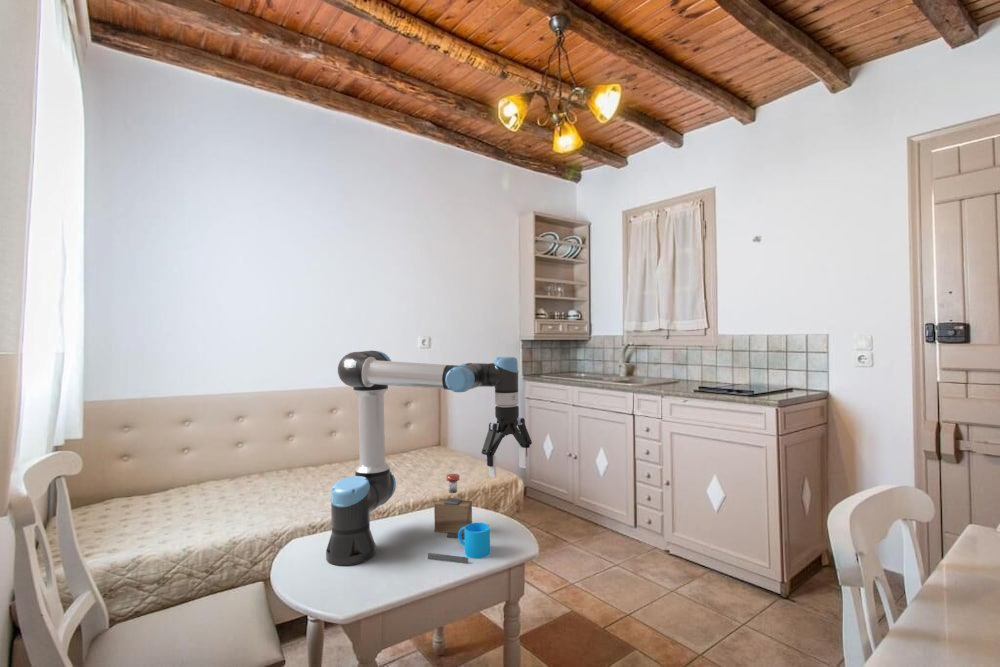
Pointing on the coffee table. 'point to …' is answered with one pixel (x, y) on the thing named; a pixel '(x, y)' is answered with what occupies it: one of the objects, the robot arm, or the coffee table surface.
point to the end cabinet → (452, 515)
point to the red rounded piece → (452, 482)
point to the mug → (476, 540)
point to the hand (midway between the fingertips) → (508, 472)
